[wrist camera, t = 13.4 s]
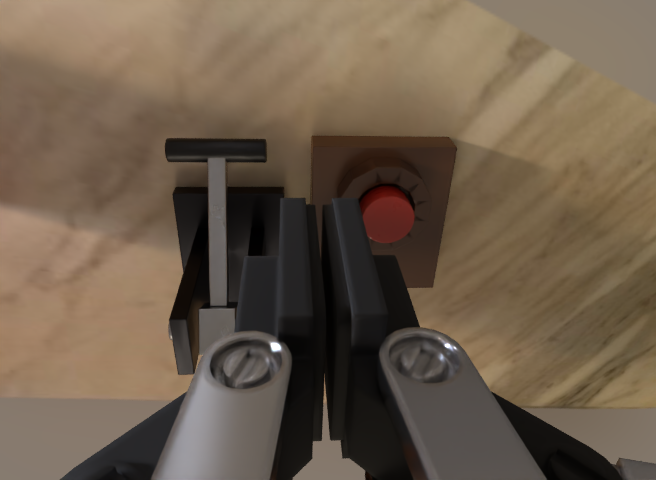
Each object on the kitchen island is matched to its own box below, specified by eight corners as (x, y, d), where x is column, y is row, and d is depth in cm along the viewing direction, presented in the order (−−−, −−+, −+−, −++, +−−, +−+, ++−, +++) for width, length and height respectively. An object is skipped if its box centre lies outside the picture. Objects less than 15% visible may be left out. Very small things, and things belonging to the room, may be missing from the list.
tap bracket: (175, 186, 37) (133, 280, 27) (284, 186, 38) (282, 277, 28) (190, 294, 42) (159, 407, 32) (285, 293, 43) (284, 403, 33)
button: (360, 185, 34) (363, 196, 33) (412, 185, 34) (418, 196, 33) (356, 231, 36) (359, 243, 34) (406, 230, 36) (411, 243, 35)
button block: (311, 135, 36) (313, 156, 32) (448, 136, 37) (465, 157, 33) (309, 273, 42) (311, 303, 39) (426, 272, 43) (438, 301, 39)
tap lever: (172, 141, 32) (162, 135, 30) (267, 142, 32) (265, 136, 30) (175, 345, 32) (166, 355, 30) (269, 343, 33) (267, 353, 31)
